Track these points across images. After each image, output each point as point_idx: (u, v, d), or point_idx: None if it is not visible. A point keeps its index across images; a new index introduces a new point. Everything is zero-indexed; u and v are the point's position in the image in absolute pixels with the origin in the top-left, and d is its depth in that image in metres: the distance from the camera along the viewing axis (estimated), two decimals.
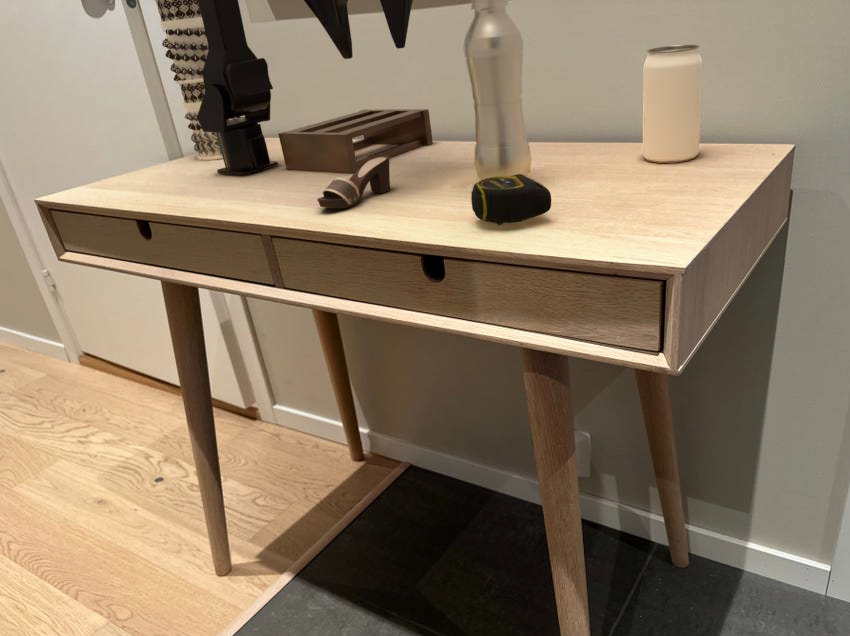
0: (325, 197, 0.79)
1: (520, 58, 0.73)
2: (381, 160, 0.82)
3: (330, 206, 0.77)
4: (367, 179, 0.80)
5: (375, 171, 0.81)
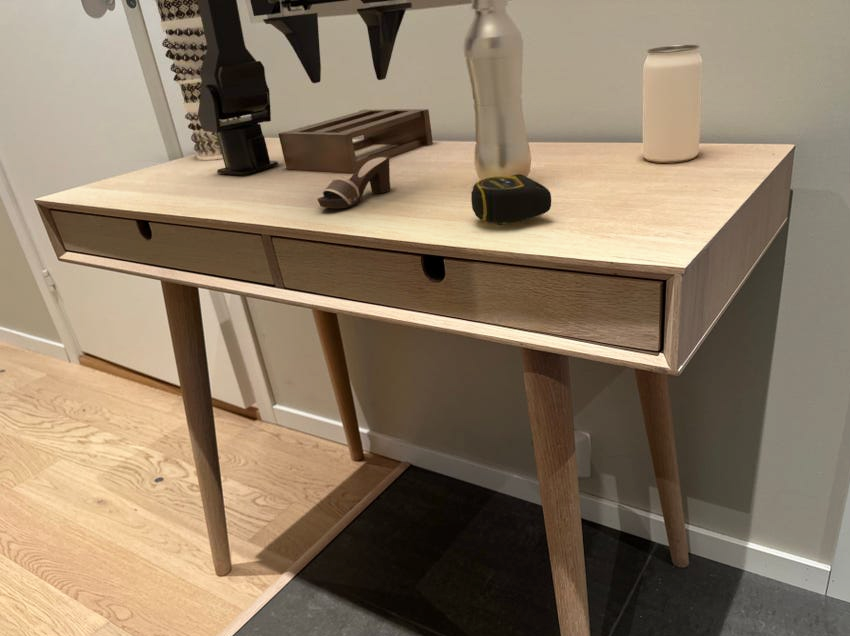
0: (325, 197, 0.79)
1: (520, 58, 0.73)
2: (381, 160, 0.82)
3: (330, 206, 0.77)
4: (367, 179, 0.80)
5: (375, 171, 0.81)
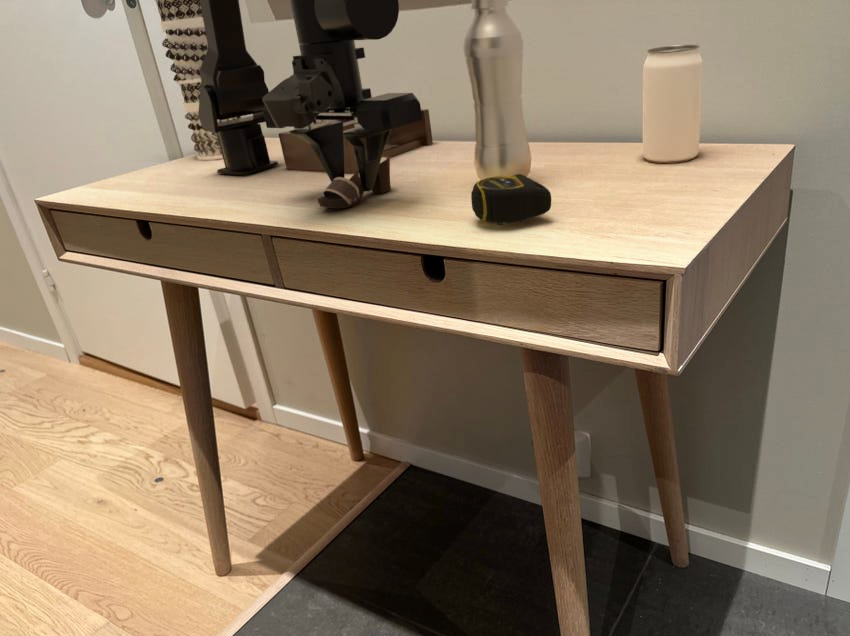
0: (325, 197, 0.79)
1: (520, 58, 0.73)
2: (381, 160, 0.82)
3: (330, 206, 0.77)
4: None
5: None
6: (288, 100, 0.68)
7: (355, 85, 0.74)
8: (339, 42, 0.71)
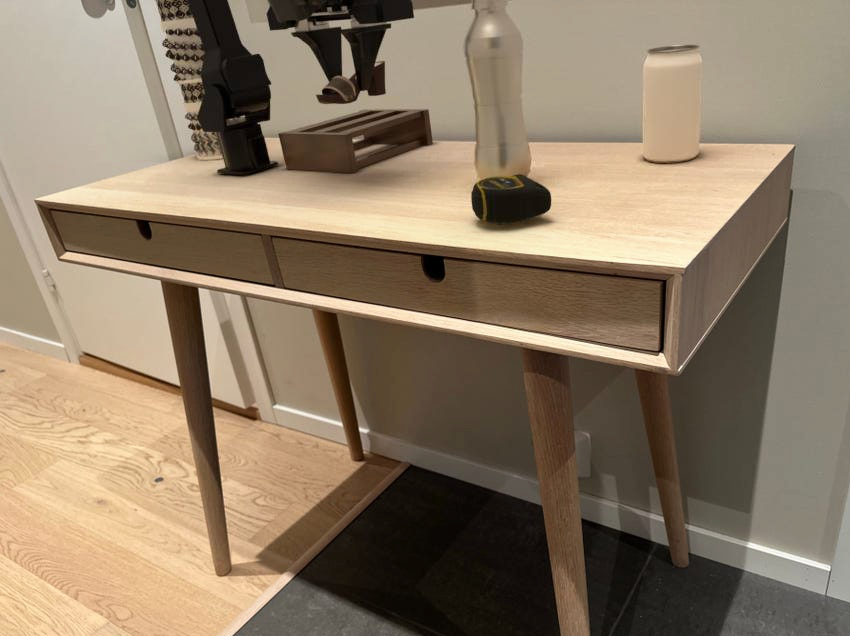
0: None
1: (520, 58, 0.73)
2: (377, 64, 0.87)
3: (328, 101, 0.82)
4: None
5: None
6: None
7: None
8: None
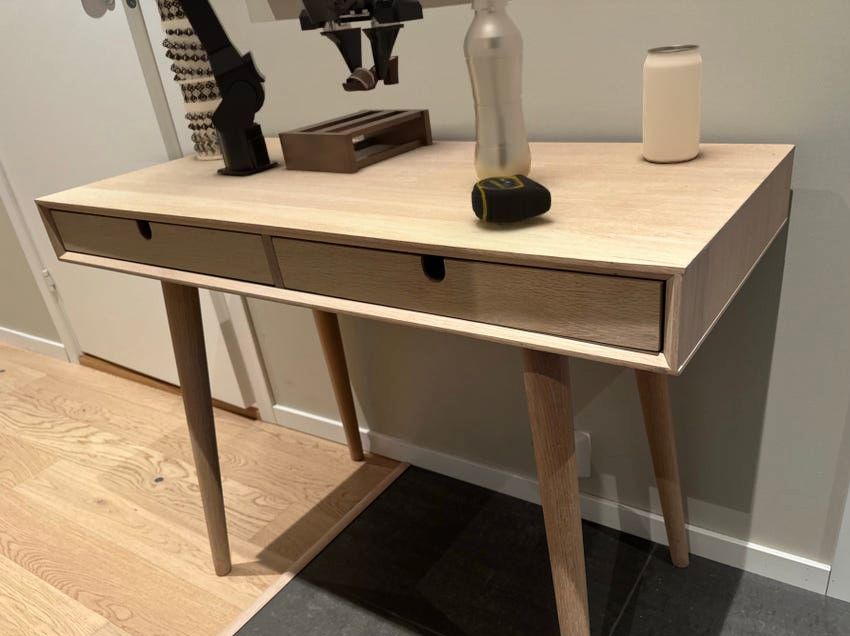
0: None
1: (520, 58, 0.73)
2: (392, 58, 1.03)
3: (352, 88, 0.98)
4: None
5: None
6: None
7: None
8: None
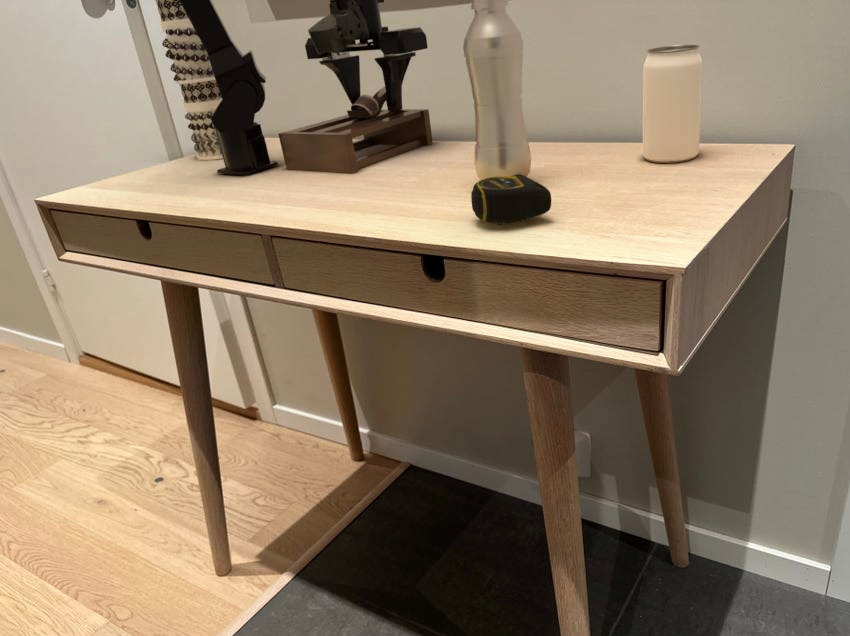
0: (352, 111, 1.03)
1: (520, 58, 0.73)
2: None
3: (357, 116, 1.00)
4: (385, 98, 1.04)
5: None
6: (328, 30, 0.92)
7: (377, 22, 0.98)
8: None
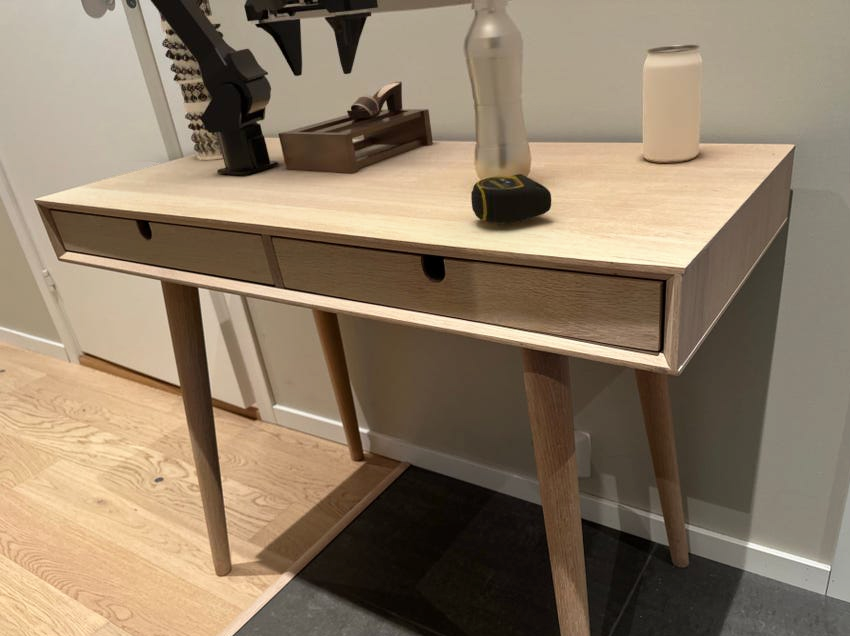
0: (352, 111, 1.03)
1: (520, 58, 0.73)
2: (395, 84, 1.05)
3: (357, 116, 1.00)
4: (385, 98, 1.04)
5: (390, 92, 1.04)
6: None
7: None
8: None
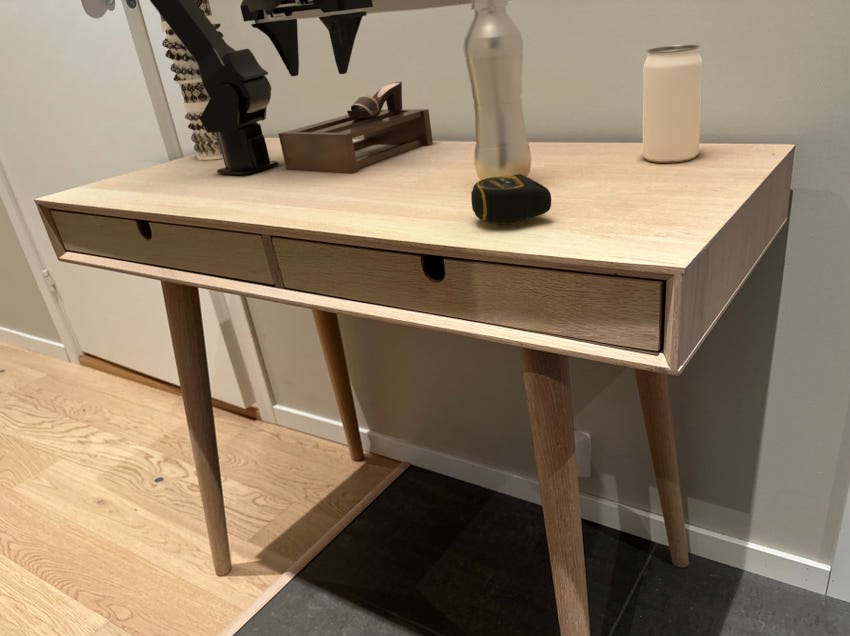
0: (352, 111, 1.03)
1: (520, 58, 0.73)
2: (395, 84, 1.05)
3: (357, 116, 1.00)
4: (385, 98, 1.04)
5: (390, 92, 1.04)
6: None
7: None
8: None
